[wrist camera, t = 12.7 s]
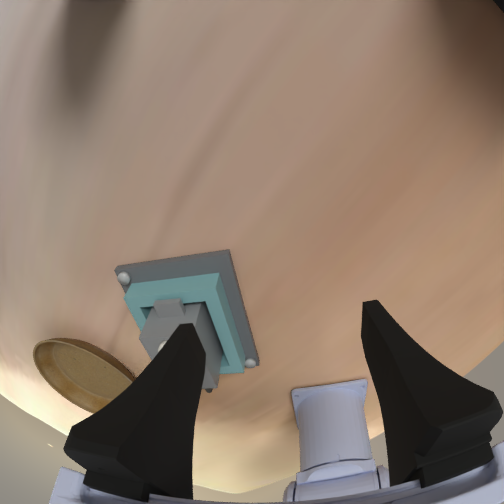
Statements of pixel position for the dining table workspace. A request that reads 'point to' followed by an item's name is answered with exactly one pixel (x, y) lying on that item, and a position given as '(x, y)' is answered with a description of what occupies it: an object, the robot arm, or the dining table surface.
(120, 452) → the robot arm
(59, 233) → the dining table surface
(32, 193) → the dining table surface
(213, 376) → the block
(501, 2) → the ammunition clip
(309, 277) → the dining table surface
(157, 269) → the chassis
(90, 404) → the plant saucer
